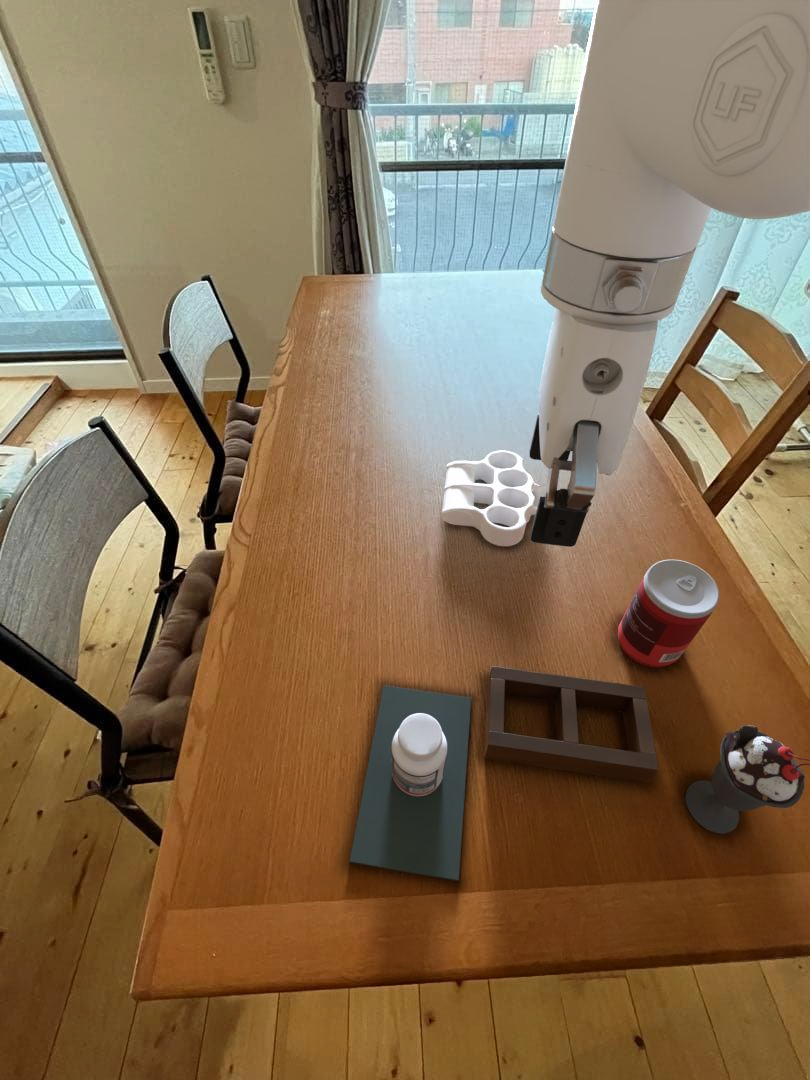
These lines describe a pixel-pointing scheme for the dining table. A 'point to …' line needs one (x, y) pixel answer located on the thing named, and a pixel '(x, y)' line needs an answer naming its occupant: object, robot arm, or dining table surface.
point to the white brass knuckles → (490, 496)
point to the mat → (414, 821)
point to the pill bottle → (418, 755)
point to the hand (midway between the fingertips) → (549, 497)
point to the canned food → (667, 612)
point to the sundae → (746, 780)
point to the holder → (571, 725)
